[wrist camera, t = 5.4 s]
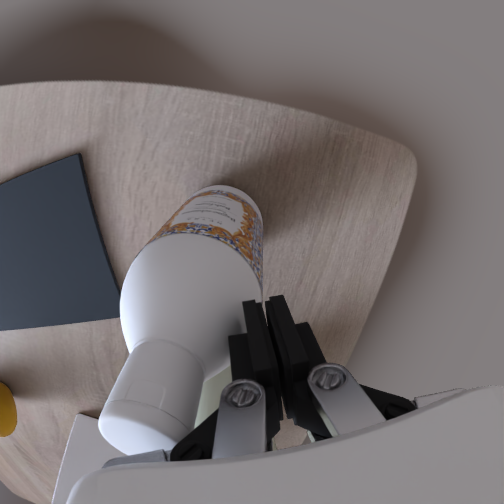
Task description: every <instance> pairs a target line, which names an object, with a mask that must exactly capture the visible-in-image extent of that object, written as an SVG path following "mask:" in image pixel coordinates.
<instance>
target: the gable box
mask: <svg viewBox="0 0 504 504" xmlns="http://www.w3.org/2000/svg"><path fill="white" fill-rule="evenodd" d="M98 421H99V420H98V419H95V418H92V417H89V416H86V415H83V414H80V413H78V414H76V417H75V420H74V423H73V426H72V429H71V432H70V436H69V439H68V442H67V445H66V449H65V452H64V456H63V459H62V463H61V466H60V470H59V474H58V478H57V482H56V486H55V490H54V494H53V498H52V503H51V504H66V503H67V500H68V497H69V495H70V492H71V490H72V488H73V487H74V485H75V483H76V482H77V481H78V480H79V479H80V478H82V477H83V476H85V475H87V474H89V473H91V472H94V471H96V470H100V469H102V467H103V465H104V464H105V463H106V462H107V461H108V460H110V459H113V458H117V457H123V456H129V455H127V454H125V453H123V452H121V451H120V450H118V449H116V448H115V447H114V446H112V445H111V444H110V443H109V442H108V441H107V440H106V439H105V438H104V437H103V436H102V434H101V432H100V430H99V427H98Z"/></svg>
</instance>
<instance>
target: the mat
mask: <svg viewBox="0 0 504 504" xmlns="http://www.w3.org/2000/svg"><path fill="white" fill-rule="evenodd" d="M120 298H121V292H120V289H119V286H118V283H117V281H116V278H115V275H114V272H113V269H112V266H111V263H110V260H109V257H108V254H107V251H106V248H105V245H104V242H103V239H102V235H101V232H100V229H99V225H98V222H97V218H96V215H95V211H94V207H93V204H92V200H91V196H90V192H89V188H88V184H87V180H86V175H85V171H84V167H83V162H82V157H81V153H78V154H75V155H72V156H70V157H67V158H64V159H61V160H58V161H56V162H53V163H50V164H48V165H45V166H43V167H40V168H38V169H35V170H33V171H30V172H28V173H26V174H23V175H21V176H19V177H16V178H14V179H12V180H10V181H7V182H5V183H3V184H1V185H0V331H4V330H15V329H26V328H36V327H45V326H54V325H63V324H72V323H80V322H88V321H96V320H103V319H111V318H118V317H120Z"/></svg>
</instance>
